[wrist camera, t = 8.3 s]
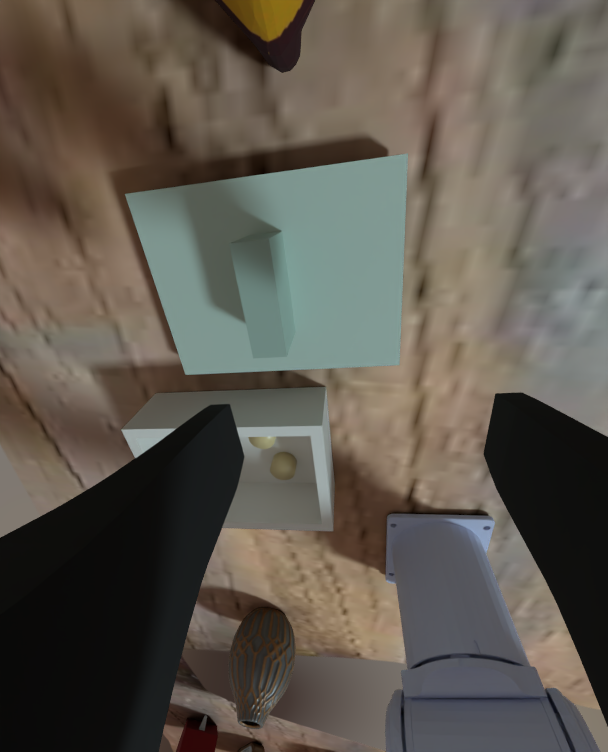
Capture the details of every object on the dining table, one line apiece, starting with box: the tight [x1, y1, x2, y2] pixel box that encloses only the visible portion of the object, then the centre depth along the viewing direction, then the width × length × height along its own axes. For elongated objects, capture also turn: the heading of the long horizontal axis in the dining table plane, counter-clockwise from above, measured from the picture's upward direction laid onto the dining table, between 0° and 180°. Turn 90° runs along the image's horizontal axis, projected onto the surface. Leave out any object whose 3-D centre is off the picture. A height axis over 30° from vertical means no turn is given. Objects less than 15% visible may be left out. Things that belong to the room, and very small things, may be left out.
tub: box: [121, 387, 335, 531], centre depth 22 cm, size 9×12×4 cm
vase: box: [229, 608, 295, 729], centre depth 33 cm, size 7×7×9 cm
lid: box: [125, 154, 408, 375], centre depth 15 cm, size 10×13×5 cm
